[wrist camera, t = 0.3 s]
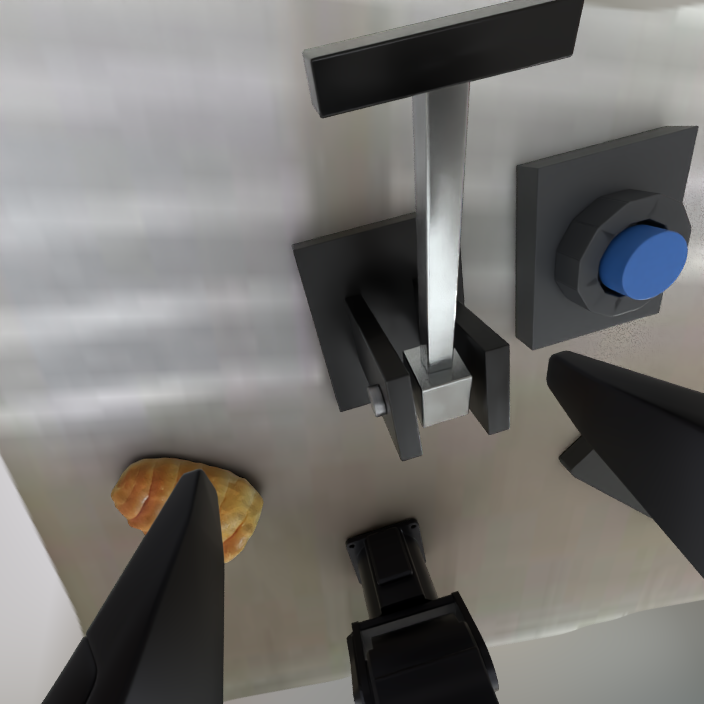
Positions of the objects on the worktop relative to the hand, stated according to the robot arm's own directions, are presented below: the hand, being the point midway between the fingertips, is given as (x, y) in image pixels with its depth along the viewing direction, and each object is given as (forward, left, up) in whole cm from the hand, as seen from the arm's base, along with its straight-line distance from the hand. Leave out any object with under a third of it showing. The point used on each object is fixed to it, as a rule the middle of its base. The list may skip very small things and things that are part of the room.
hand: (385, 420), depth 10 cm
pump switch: (-3, -16, -14) cm, 22 cm away
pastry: (-14, +13, -15) cm, 24 cm away
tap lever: (+1, -3, -6) cm, 7 cm away
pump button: (-3, -16, -11) cm, 20 cm away
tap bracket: (-4, -3, -14) cm, 15 cm away
